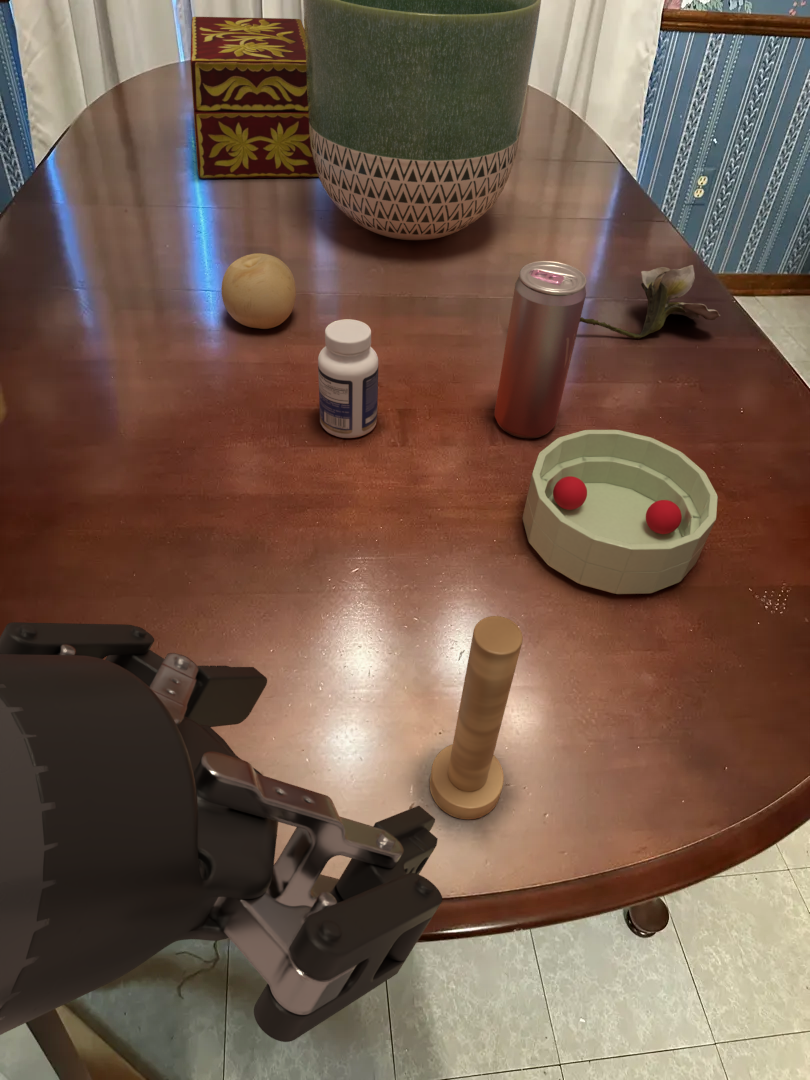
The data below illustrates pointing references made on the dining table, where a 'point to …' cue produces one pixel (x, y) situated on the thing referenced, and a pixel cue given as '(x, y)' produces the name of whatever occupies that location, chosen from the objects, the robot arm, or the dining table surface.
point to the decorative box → (250, 98)
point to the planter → (417, 107)
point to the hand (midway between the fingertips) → (328, 760)
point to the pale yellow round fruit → (259, 291)
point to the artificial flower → (664, 300)
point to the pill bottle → (348, 380)
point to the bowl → (618, 511)
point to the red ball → (570, 493)
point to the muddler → (478, 724)
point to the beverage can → (539, 347)
